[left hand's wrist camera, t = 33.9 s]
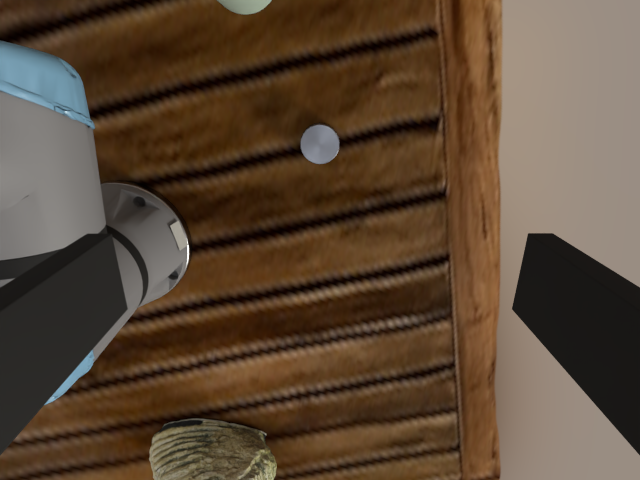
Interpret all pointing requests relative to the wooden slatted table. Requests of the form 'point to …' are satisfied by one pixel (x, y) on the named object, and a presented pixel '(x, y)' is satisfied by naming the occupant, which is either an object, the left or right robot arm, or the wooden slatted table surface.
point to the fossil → (210, 452)
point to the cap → (319, 143)
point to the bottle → (244, 5)
